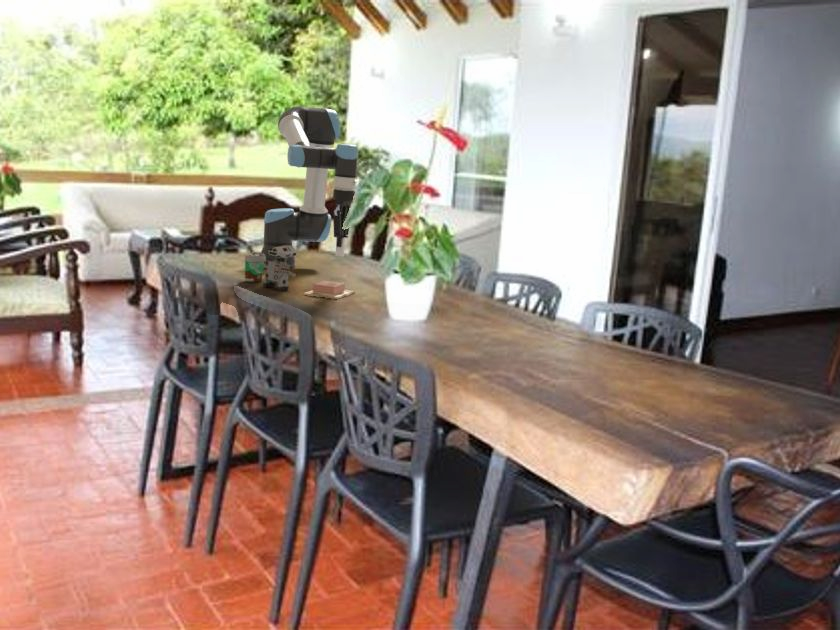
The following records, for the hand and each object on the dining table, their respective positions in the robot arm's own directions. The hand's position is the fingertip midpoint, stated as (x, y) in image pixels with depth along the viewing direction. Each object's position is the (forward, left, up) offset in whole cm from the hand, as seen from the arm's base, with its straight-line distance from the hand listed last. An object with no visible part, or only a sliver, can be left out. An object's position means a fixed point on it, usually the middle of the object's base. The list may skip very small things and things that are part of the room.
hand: (339, 255), depth 298 cm
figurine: (+12, -16, -13) cm, 24 cm away
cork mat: (+10, +2, -12) cm, 16 cm away
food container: (+6, -29, -13) cm, 33 cm away
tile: (+7, +2, -10) cm, 12 cm away
